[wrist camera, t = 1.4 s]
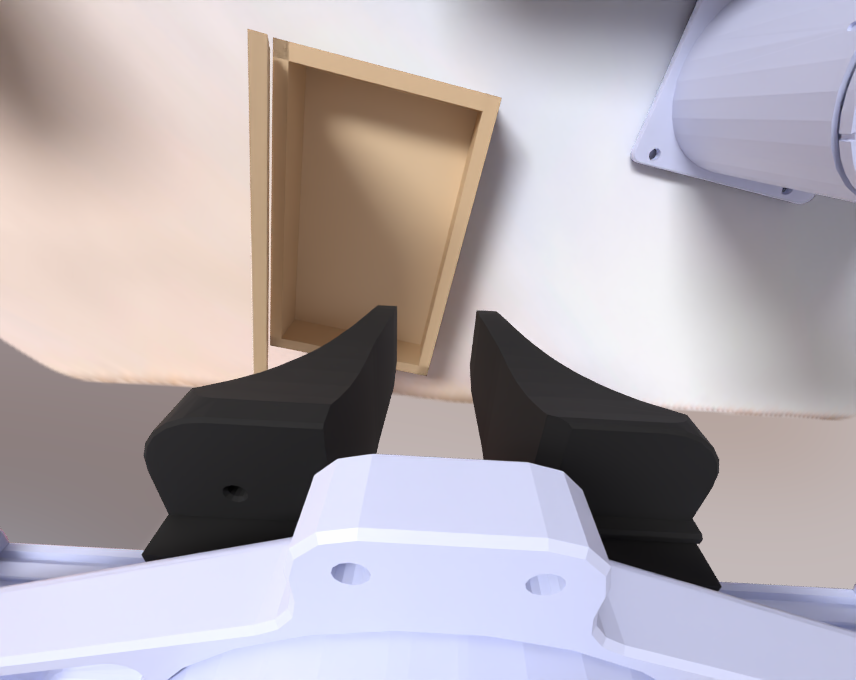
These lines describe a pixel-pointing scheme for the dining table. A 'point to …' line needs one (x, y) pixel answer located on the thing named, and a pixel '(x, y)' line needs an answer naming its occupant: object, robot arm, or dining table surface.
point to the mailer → (368, 196)
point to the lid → (259, 191)
